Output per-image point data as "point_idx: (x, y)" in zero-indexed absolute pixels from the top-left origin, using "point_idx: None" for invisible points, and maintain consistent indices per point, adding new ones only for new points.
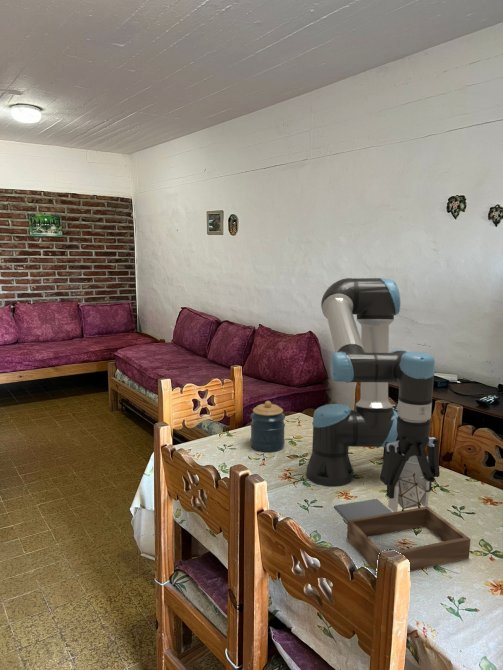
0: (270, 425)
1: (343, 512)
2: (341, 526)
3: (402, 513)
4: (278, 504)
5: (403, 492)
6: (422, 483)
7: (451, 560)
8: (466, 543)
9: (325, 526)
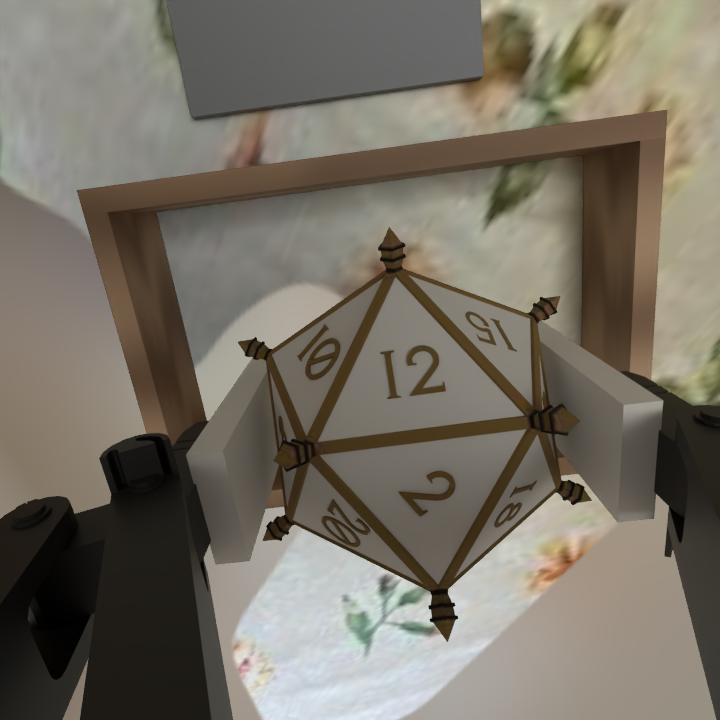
0: None
1: None
2: (129, 69)
3: (453, 166)
4: None
5: (309, 527)
6: (593, 431)
7: None
8: None
9: (38, 51)
